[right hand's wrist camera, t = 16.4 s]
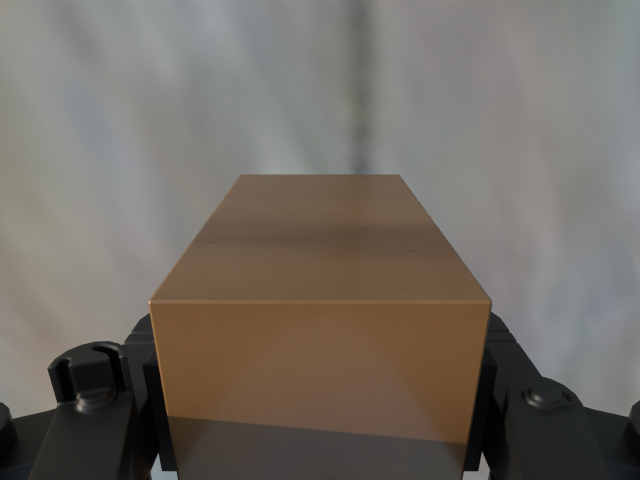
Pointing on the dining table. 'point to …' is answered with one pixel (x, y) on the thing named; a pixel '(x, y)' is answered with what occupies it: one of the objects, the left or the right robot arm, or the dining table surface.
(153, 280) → the dining table surface
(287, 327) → the bar
